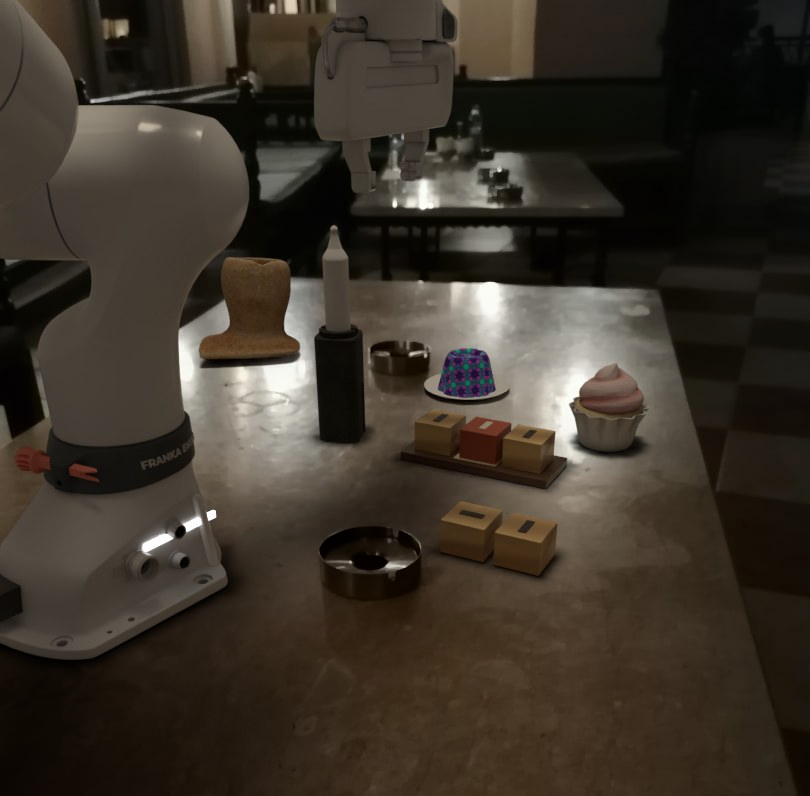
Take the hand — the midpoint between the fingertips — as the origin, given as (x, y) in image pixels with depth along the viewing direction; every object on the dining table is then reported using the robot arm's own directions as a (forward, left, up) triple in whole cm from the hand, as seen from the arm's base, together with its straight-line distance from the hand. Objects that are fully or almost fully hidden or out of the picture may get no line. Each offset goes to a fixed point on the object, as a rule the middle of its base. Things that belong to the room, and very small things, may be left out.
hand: (388, 186), depth 86 cm
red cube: (+9, -7, -30) cm, 32 cm away
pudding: (+31, +5, -31) cm, 44 cm away
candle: (+9, +12, -31) cm, 34 cm away
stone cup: (+31, +42, -31) cm, 61 cm away
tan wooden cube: (-10, -19, -31) cm, 38 cm away
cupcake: (+21, -18, -31) cm, 42 cm away
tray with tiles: (+9, -7, -31) cm, 33 cm away
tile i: (-10, -14, -31) cm, 35 cm away
